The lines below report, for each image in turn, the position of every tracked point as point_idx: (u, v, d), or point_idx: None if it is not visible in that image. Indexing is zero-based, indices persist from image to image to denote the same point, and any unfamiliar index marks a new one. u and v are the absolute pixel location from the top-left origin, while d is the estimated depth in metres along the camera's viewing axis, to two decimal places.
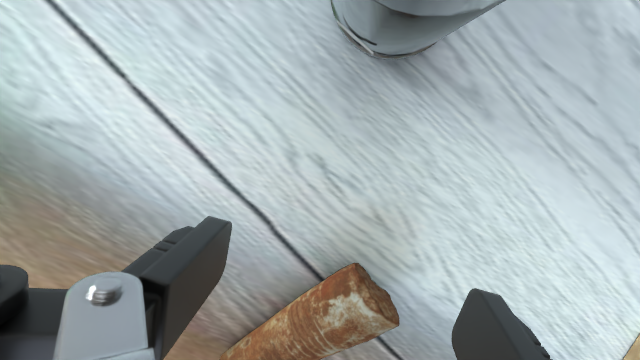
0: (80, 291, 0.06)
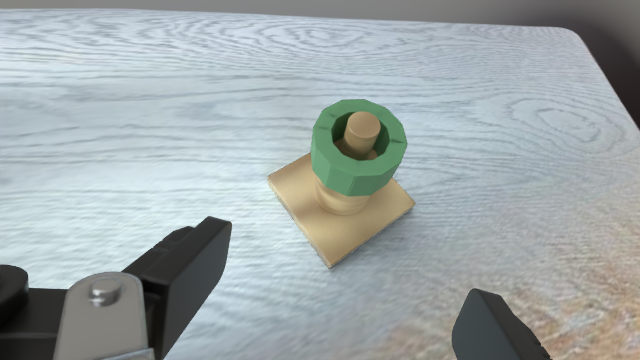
0: (80, 291, 0.06)
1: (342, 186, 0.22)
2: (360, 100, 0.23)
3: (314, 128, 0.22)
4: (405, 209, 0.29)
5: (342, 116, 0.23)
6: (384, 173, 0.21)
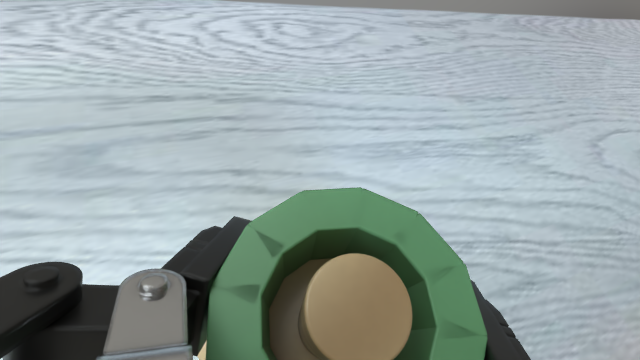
0: (131, 284, 0.06)
1: None
2: (352, 192, 0.09)
3: (211, 294, 0.07)
4: None
5: (300, 243, 0.08)
6: None
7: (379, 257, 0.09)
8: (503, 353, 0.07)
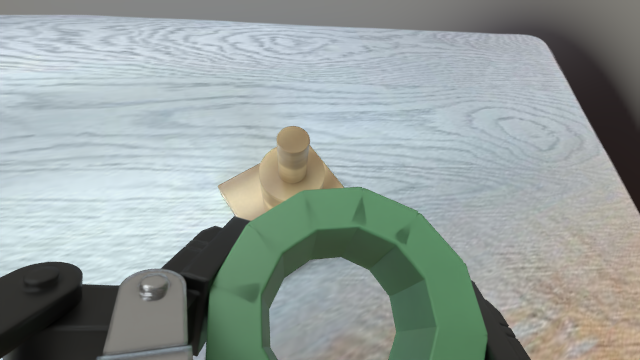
0: (131, 284, 0.06)
1: None
2: (352, 191, 0.09)
3: (211, 293, 0.07)
4: None
5: (300, 243, 0.08)
6: None
7: (379, 257, 0.09)
8: (503, 353, 0.07)
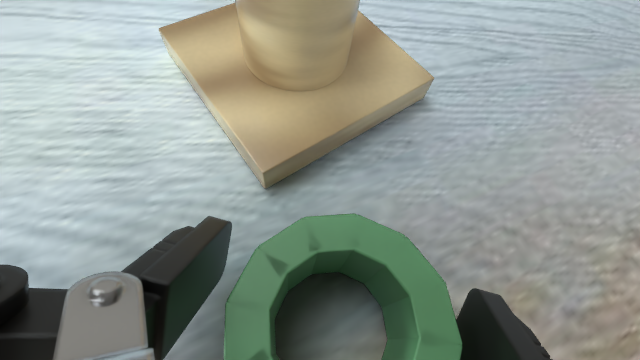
0: (80, 291, 0.06)
1: None
2: (347, 217, 0.10)
3: (227, 309, 0.09)
4: (415, 85, 0.15)
5: (302, 264, 0.09)
6: None
7: (372, 273, 0.11)
8: None
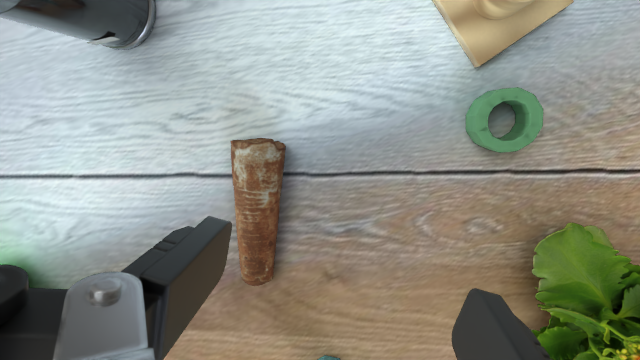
0: (80, 291, 0.06)
1: (486, 148, 0.35)
2: (515, 89, 0.31)
3: (476, 117, 0.32)
4: (560, 9, 0.31)
5: None
6: (519, 149, 0.33)
7: (517, 104, 0.33)
8: None
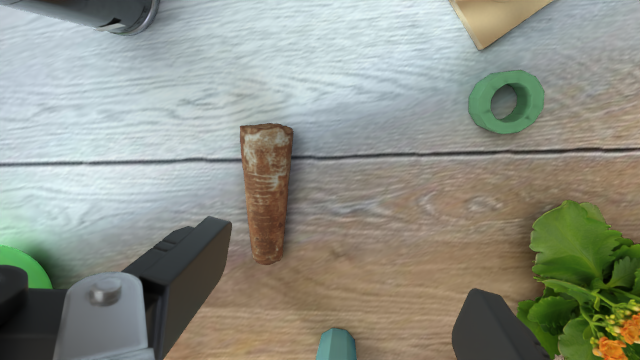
0: (80, 291, 0.06)
1: (488, 129, 0.36)
2: (518, 71, 0.32)
3: (479, 99, 0.33)
4: None
5: None
6: (520, 130, 0.34)
7: (519, 86, 0.34)
8: None
